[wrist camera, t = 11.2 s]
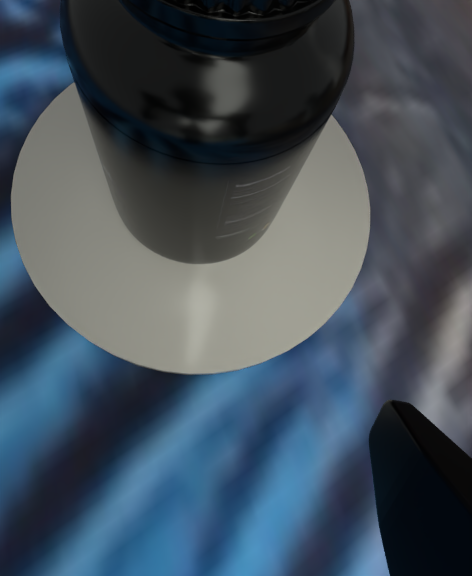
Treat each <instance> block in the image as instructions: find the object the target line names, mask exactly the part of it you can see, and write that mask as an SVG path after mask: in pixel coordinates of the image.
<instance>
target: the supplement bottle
mask: <svg viewBox="0 0 472 576" xmlns="http://www.w3.org/2000/svg"><path fill="white" fill-rule="evenodd" d="M60 28H61V34H62V40H63V44H64V48H65V52H66V56H67V60H68V63H69V66H70V70H71V73H72V76H73V79H74V82H75V85H76V88H77V91H78V95H79V98H80V101H81V104H82V107H83V110H84V113H85V116H86V119H87V122H88V125H89V128H90V131H91V134H92V137H93V140H94V143H95V147H96V150H97V153H98V156H99V159H100V162H101V165H102V168H103V171H104V174H105V177H106V180H107V183H108V186H109V189H110V192H111V195H112V198H113V201H114V204H115V206H116V209H117V211H118V214H119V216H120V217H121V219H122V221H123V223H124V224H125V226H126V227H127V229H128V230H129V231H130V233H131V234H132V235H133V236H134V237H135V238H136V239H137V240H138V241H139V242H140V243H141V244H143V245H144V246H145V247H147V248H148V249H150V250H151V251H153V252H154V253H156V254H158V255H160V256H162V257H165V258H167V259H170V260H173V261H177V262H181V263H187V264H212V263H217V262H221V261H225V260H228V259H231V258H233V257H236V256H238V255H239V254H241V253H243V252H245V251H246V250H248V249H249V248H250V247H252V246H253V245H254V244H255V243H256V242H257V241H258V240H259V239H260V238H261V237H262V236H263V235H264V233H265V232H266V231H267V229H268V228H269V226H270V225H271V223H272V221H273V220H274V218H275V217H276V215H277V213H278V211H279V209H280V207H281V206H282V204H283V202H284V200H285V198H286V196H287V195H288V193H289V191H290V189H291V187H292V185H293V184H294V182H295V180H296V178H297V176H298V175H299V173H300V171H301V169H302V167H303V165H304V164H305V162H306V160H307V158H308V156H309V154H310V153H311V151H312V149H313V147H314V145H315V143H316V142H317V140H318V138H319V136H320V134H321V133H322V131H323V129H324V127H325V125H326V123H327V122H328V120H329V118H330V116H331V114H332V112H333V110H334V108H335V107H336V105H337V103H338V101H339V99H340V96H341V94H342V92H343V90H344V88H345V85H346V83H347V80H348V77H349V74H350V70H351V66H352V61H353V55H354V23H353V15H352V9H351V5H350V1H349V0H61V1H60Z"/></svg>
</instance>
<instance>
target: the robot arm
mask: <svg viewBox="0 0 472 576" xmlns="http://www.w3.org/2000/svg"><path fill="white" fill-rule="evenodd" d="M369 449H370V458H371V466H372V474H373V483H374V491H375V500H376V508H377V515H378V522H379V528H380V533H381V538H382V543H383V547H384V552H385V556H386V560H387V565H388V569H389V574H390V576H472V458H471V457H469V456H468V455H467V454H466V453H465V452H464V451H463V450H462V449H461V448H459V447H458V446H457V445H456V444H455V443H454V442H453V441H452V440H451V439H449V438H448V437H447V436H446V435H445V434H444V433H443V432H442V431H441V430H439V429H438V428H437V427H436V426H435V425H434V424H433V423H432V422H431V421H429V420H428V419H427V418H426V417H425V416H424V415H423V414H422V413H421V412H419V411H418V410H417V409H416V408H415V407H414V406H413V405H412V404H410V403H407V402H402V401H396V400H387V401H386V402H385V403H384V404H383V406H382V408H381V410H380V412H379V414H378V416H377V418H376V420H375V422H374V424H373V426H372V428H371V430H370V434H369Z"/></svg>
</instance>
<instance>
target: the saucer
mask: <svg viewBox="0 0 472 576" xmlns="http://www.w3.org/2000/svg"><path fill="white" fill-rule="evenodd" d="M11 217H12V224H13V229H14V235H15V240H16V244H17V247H18V250H19V253H20V255H21V258H22V261H23V264H24V266H25V268H26V270H27V272H28V274H29V276H30V277H31V279H32V281H33V283H34V285H35V287H36V288H37V289H38V291H39V292H40V294H41V295H42V296H43V298H44V299H45V300H46V302H47V303H48V304H49V306H50V307H51V308H52V309H53V310H54V311H55V312H56V313H57V314H58V315H59V316H60V317H61V318H62V319H63V320H64V321H65V322H66V323H67V324H68V325H69V326H70V327H72V328H73V329H74V330H76V331H77V332H78V333H80V334H81V335H82V336H83V337H85V338H86V339H87V340H89V341H90V342H92V343H93V344H94V345H96V346H98V347H100V348H101V349H103V350H105V351H107V352H108V353H110V354H112V355H114V356H116V357H118V358H120V359H123V360H125V361H128V362H130V363H133V364H135V365H138V366H141V367H145V368H149V369H153V370H157V371H161V372H166V373H175V374H184V375H212V374H219V373H225V372H232V371H237V370H241V369H244V368H248V367H251V366H254V365H258V364H260V363H262V362H265V361H267V360H269V359H271V358H274V357H276V356H278V355H280V354H282V353H284V352H286V351H288V350H290V349H291V348H293V347H294V346H296V345H298V344H299V343H301V342H302V341H304V340H306V339H307V338H308V337H309V336H311V335H312V334H313V333H314V332H315V331H317V330H318V329H319V328H320V327H321V326H322V325H324V324H325V323H326V322H327V320H328V319H329V318H330V317H331V316H332V315H333V314H334V313H335V311H336V310H337V309H338V308H339V307H340V306H341V304H342V302H343V301H344V299H345V298H346V296H347V295H348V293H349V292H350V290H351V289H352V287H353V285H354V283H355V280H356V278H357V276H358V274H359V272H360V270H361V267H362V263H363V260H364V257H365V253H366V250H367V245H368V238H369V231H370V204H369V196H368V188H367V184H366V181H365V177H364V173H363V169H362V167H361V164H360V162H359V159H358V157H357V154H356V152H355V150H354V148H353V146H352V144H351V143H350V141H349V139H348V137H347V135H346V134H345V132H344V131H343V129H342V128H341V127H340V125H339V124H338V122H337V121H336V120H335V118H334V117H333V116H332V115H331V116H330V118H329V120H328V122H327V123H326V125H325V127H324V129H323V131H322V133H321V134H320V136H319V138H318V140H317V142H316V143H315V145H314V147H313V149H312V151H311V153H310V154H309V156H308V158H307V160H306V162H305V164H304V165H303V167H302V169H301V171H300V173H299V175H298V176H297V178H296V180H295V182H294V184H293V185H292V187H291V189H290V191H289V193H288V195H287V196H286V198H285V200H284V202H283V204H282V206H281V207H280V209H279V211H278V213H277V215H276V217H275V218H274V220H273V221H272V223H271V225H270V226H269V228H268V229H267V231H266V232H265V233H264V235H263V236H262V237H261V238H260V239H259V240H258V241H257V242H256V243H255V244H254V245H253V246H252V247H250V248H249V249H248V250H246V251H245V252H243V253H241V254H239V255H238V256H236V257H233V258H231V259H228V260H225V261H221V262H217V263H212V264H187V263H181V262H177V261H173V260H170V259H167V258H165V257H162V256H160V255H158V254H156V253H154V252H153V251H151V250H150V249H148V248H147V247H145V246H144V245H143V244H141V243H140V242H139V241H138V240H137V239H136V238H135V237H134V236H133V235H132V234H131V233H130V231H129V230H128V229H127V227H126V226H125V224H124V223H123V221H122V219H121V217H120V216H119V214H118V211H117V209H116V206H115V204H114V201H113V198H112V195H111V192H110V189H109V186H108V183H107V180H106V177H105V174H104V171H103V168H102V165H101V162H100V159H99V156H98V153H97V150H96V147H95V143H94V140H93V137H92V134H91V131H90V128H89V125H88V122H87V119H86V116H85V113H84V110H83V107H82V104H81V101H80V98H79V95H78V91H77V88H76V85H75V82H74V83H72V84H71V85H70V86H68V87H67V88H66V89H65V90H64V91H63V92H62V93H61V94H59V95H58V96H57V97H56V98H55V99H54V100H53V101H52V102H51V104H50V105H49V106H48V107H47V108H46V109H45V110H44V112H43V113H42V114H41V115H40V117H39V118H38V120H37V121H36V123H35V124H34V126H33V127H32V129H31V131H30V132H29V134H28V136H27V138H26V140H25V143H24V145H23V147H22V149H21V151H20V154H19V158H18V161H17V165H16V168H15V171H14V176H13V184H12V192H11Z"/></svg>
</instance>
